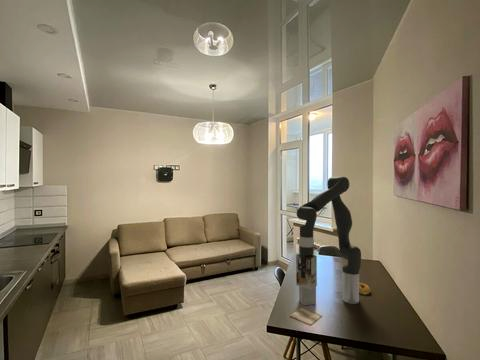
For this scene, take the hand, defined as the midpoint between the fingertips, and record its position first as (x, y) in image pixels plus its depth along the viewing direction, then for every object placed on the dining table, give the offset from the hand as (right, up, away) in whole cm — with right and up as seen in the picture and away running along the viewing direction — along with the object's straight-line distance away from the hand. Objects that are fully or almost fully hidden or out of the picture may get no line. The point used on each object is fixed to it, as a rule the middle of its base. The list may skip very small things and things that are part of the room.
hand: (306, 276), depth 136 cm
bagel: (+44, -22, +31) cm, 58 cm away
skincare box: (+4, -21, +15) cm, 27 cm away
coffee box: (0, -5, 0) cm, 5 cm away
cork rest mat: (0, -21, 0) cm, 21 cm away
